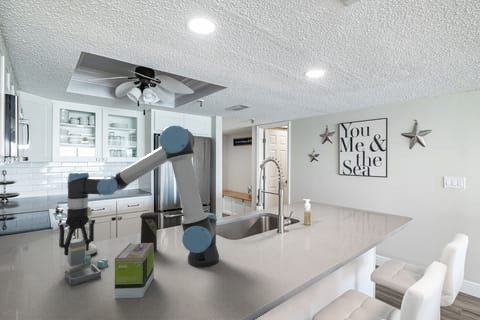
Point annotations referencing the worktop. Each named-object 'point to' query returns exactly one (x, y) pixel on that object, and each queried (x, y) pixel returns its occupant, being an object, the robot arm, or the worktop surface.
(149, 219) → the container
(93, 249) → the flower in vase
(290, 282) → the worktop surface
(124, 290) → the tea box
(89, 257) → the clip
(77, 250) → the grey box with stripe
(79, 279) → the grey square tray
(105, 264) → the clip
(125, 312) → the worktop surface
